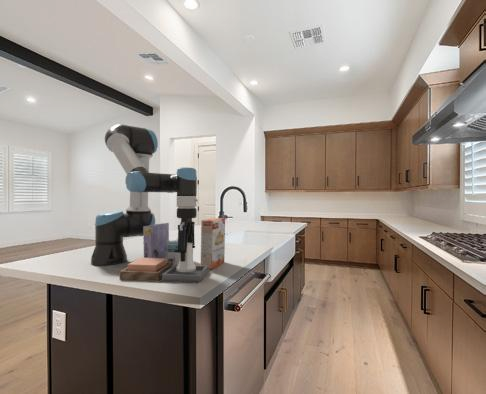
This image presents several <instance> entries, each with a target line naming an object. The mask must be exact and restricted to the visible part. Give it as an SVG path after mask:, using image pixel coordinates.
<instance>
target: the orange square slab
mask: <svg viewBox="0 0 486 394" xmlns="http://www.w3.org/2000/svg"><path fill="white" fill-rule="evenodd" d="M165 265H167V258H144V257H139V258H138V259H136V260H133V261H131V262H130V263H127V267H128V271H149V272H156V271H158V270H159V269H161V268H162V267H164V266H165Z"/></svg>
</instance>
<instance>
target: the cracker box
mask: <svg viewBox="0 0 486 394" xmlns="http://www.w3.org/2000/svg"><path fill="white" fill-rule="evenodd" d="M200 222H201V223H200V225H201V226H200V227H201V228H200V265H202V266H208V270H213V269H215V268H217V267H219V266H220V265H222V264H224V263H225V253H226V252H225V250H226V249H225V245H226V244H225V243H226V241H225V240H226V218H225V217H224V218H223V217H214V218H213V217H211V218H207V219H202V220H201V221H200Z"/></svg>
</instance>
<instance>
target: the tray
mask: <svg viewBox="0 0 486 394" xmlns="http://www.w3.org/2000/svg"><path fill="white" fill-rule="evenodd" d="M177 266H178V265H173V267H171V268H170V269H169V270H167V271H166V272H165V273H163V274H162V278H161V282H167V283H169V282H170V283H193V284H194V283H195V284H200V283H201V282H202V280H203V279H204V278H205V276H207V274H208V273H209V269H208V266H202V265H201V264H200V265H199V264H198V265H197V264H195V266H196V270H194V271H190V272H179V271H177V270H176V269H177V268H176V267H177Z"/></svg>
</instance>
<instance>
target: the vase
mask: <svg viewBox="0 0 486 394" xmlns="http://www.w3.org/2000/svg"><path fill="white" fill-rule="evenodd" d="M192 244H193V243H187V270H180V260H179V263H178V266H177V267H176V268H177V269H176V270H177V271H179V272H190V271H194V270H196V266H195V265H196V264H195V262H194V256H193V257H192Z"/></svg>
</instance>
